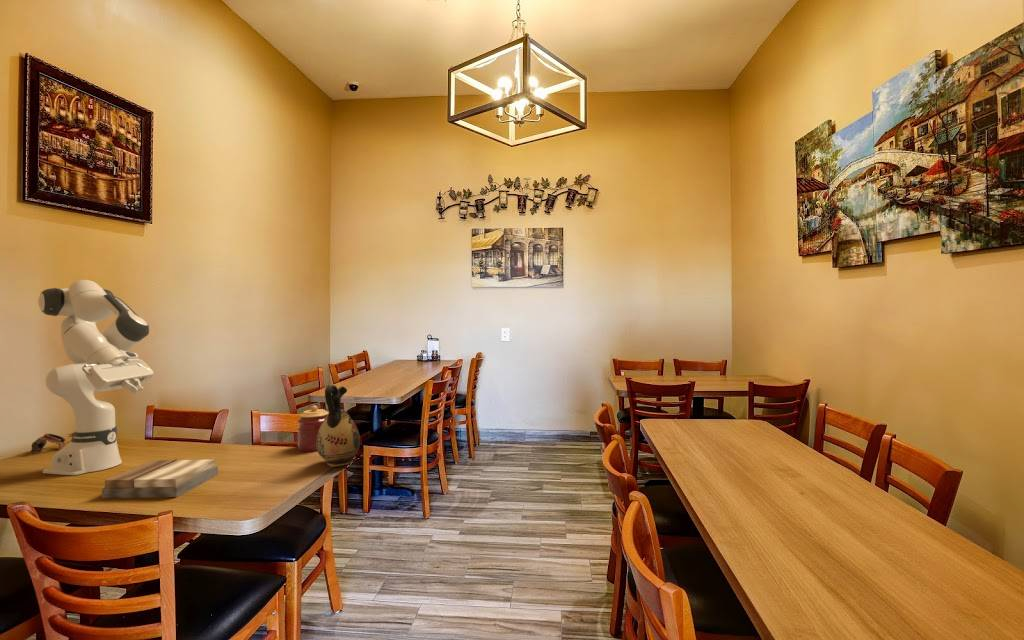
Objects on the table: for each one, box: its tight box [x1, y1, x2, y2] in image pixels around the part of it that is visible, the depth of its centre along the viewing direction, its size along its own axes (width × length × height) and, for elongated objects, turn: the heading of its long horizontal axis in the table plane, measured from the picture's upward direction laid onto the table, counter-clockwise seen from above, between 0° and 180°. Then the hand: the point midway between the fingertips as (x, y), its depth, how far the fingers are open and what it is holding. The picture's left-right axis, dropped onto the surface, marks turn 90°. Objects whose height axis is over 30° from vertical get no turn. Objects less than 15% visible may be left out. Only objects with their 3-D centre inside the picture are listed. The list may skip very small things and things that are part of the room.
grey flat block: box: [101, 458, 219, 499], centre depth 152 cm, size 23×20×6 cm
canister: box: [297, 405, 329, 452], centre depth 194 cm, size 13×13×18 cm
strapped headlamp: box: [30, 433, 66, 455], centre depth 192 cm, size 12×10×8 cm
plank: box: [134, 458, 216, 488], centre depth 152 cm, size 13×19×2 cm
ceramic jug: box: [316, 384, 361, 468], centre depth 172 cm, size 17×15×30 cm
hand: (139, 391), depth 151 cm, fingers closed
